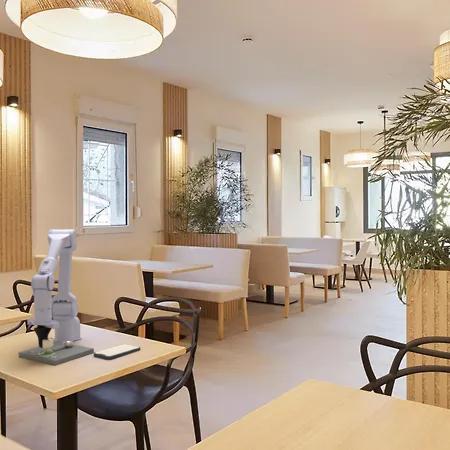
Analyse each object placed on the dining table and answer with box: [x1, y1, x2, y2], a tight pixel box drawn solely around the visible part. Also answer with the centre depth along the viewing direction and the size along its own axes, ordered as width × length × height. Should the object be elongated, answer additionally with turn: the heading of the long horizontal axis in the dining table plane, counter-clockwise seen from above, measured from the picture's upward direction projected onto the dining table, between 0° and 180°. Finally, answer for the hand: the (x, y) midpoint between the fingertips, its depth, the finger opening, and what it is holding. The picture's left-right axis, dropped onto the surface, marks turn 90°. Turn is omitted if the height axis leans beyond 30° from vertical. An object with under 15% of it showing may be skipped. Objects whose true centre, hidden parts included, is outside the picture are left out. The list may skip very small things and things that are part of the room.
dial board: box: [18, 342, 95, 366], centre depth 174 cm, size 17×19×2 cm
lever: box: [38, 337, 74, 355], centre depth 173 cm, size 15×4×5 cm, turn 151°
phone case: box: [93, 343, 141, 361], centre depth 176 cm, size 9×2×16 cm
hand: (43, 347), depth 171 cm, fingers closed, pressing on lever
